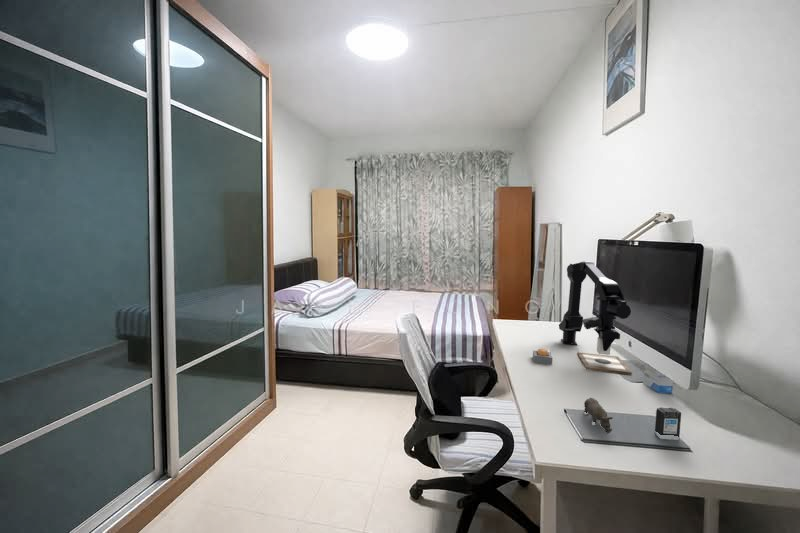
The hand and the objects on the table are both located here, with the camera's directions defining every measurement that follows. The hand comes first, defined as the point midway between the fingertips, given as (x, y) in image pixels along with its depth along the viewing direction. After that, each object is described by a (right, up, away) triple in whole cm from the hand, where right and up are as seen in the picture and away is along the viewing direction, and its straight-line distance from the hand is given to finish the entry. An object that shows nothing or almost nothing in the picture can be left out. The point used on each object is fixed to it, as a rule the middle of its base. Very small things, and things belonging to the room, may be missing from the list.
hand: (603, 349), depth 145 cm
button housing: (-24, -6, +3) cm, 25 cm away
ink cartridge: (-13, -12, -52) cm, 55 cm away
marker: (0, -2, 0) cm, 2 cm away
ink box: (+7, -9, -21) cm, 24 cm away
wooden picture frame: (0, -6, +1) cm, 6 cm away
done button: (-24, -4, +3) cm, 25 cm away
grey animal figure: (-29, -11, -46) cm, 55 cm away
